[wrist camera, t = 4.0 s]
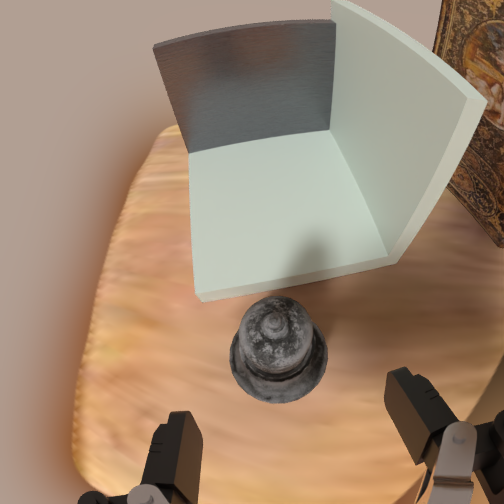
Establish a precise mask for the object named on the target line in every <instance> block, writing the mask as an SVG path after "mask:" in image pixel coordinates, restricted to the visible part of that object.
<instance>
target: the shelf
mask: <svg viewBox="0 0 504 504" xmlns="http://www.w3.org/2000/svg"><path fill="white" fill-rule="evenodd" d="M153 52H154V55H155V58H156V61H157V64H158V67H159V70H160V73H161V76H162V79H163V82H164V85H165V88H166V91H167V93H168V96H169V99H170V102H171V105H172V108H173V111H174V114H175V116H176V119H177V122H178V125H179V128H180V131H181V134H182V137H183V139H184V142H185V145H186V148H187V151H188V153H189V195H190V220H191V240H192V257H193V272H194V285H195V294H196V295H197V297H198V298H199V299H200V300H201V302H202V303H203V302H209V301H215V300H221V299H227V298H233V297H238V296H244V295H249V294H255V293H260V292H266V291H271V290H276V289H281V288H286V287H292V286H297V285H302V284H307V283H311V282H316V281H321V280H326V279H331V278H335V277H340V276H345V275H349V274H354V273H358V272H363V271H367V270H371V269H376V268H380V267H384V266H388V265H393V264H396V263H397V262H398V261H399V259H400V258H401V256H402V255H403V253H404V252H405V251H406V249H407V248H408V246H409V245H410V243H411V242H412V240H413V239H414V237H415V236H416V234H417V233H418V231H419V230H420V228H421V227H422V225H423V224H424V222H425V221H426V219H427V217H428V216H429V214H430V213H431V211H432V209H433V208H434V206H435V204H436V203H437V201H438V199H439V198H440V196H441V194H442V193H443V191H444V189H445V187H446V186H447V184H448V182H449V180H450V179H451V177H452V175H453V173H454V171H455V170H456V168H457V166H458V164H459V162H460V160H461V158H462V156H463V154H464V152H465V150H466V148H467V146H468V144H469V142H470V140H471V138H472V136H473V134H474V132H475V130H476V128H477V125H478V123H479V121H480V119H481V116H482V114H483V112H484V109H485V107H486V105H487V102H488V101H487V100H486V99H485V98H484V97H483V96H482V95H481V94H480V93H479V92H478V91H477V90H476V89H475V88H474V87H473V86H472V85H471V84H470V83H469V82H468V81H466V80H465V79H464V78H463V77H462V76H461V75H460V74H459V73H457V72H456V71H455V70H454V69H453V68H451V67H450V66H449V65H448V64H447V63H445V62H444V61H443V60H442V59H440V58H439V57H438V56H437V55H435V54H434V53H433V52H431V51H430V50H429V49H427V48H426V47H424V46H423V45H422V44H420V43H419V42H417V41H416V40H414V39H413V38H412V37H410V36H409V35H407V34H406V33H404V32H403V31H401V30H399V29H398V28H396V27H394V26H393V25H391V24H390V23H388V22H386V21H385V20H383V19H381V18H380V17H378V16H376V15H374V14H372V13H370V12H368V11H367V10H365V9H363V8H361V7H359V6H357V5H355V4H353V3H351V2H349V1H343V0H342V1H341V0H331V20H287V21H273V22H263V23H253V24H246V25H238V26H232V27H226V28H220V29H215V30H209V31H204V32H200V33H195V34H191V35H187V36H183V37H179V38H175V39H172V40H168V41H164V42H161V43H157V44H155V45H154V47H153Z"/></svg>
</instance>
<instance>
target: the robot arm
mask: <svg viewBox="0 0 504 504" xmlns="http://www.w3.org/2000/svg"><path fill="white" fill-rule="evenodd" d="M384 402H385V406H386V409H387V411H388V413H389V415H390V417H391V419H392V420H393V422H394V424H395V426H396V428H397V430H398V432H399V434H400V436H401V438H402V439H403V441H404V443H405V445H406V447H407V449H408V451H409V453H410V455H411V457H412V459H413V461H414V463H415V465H418V464H420V463H423V462H425V464H426V466H427V467H426V470H425V473H424V476H423V480H422V483H421V486H420V489H419V491H418V494H417V497H416V500H415V502H414V504H470V501H471V497H472V493H473V488H474V487H473V486H474V483H473V482H471V473H472V472H473V471H474V472H475V474H476V476H477V478H478V480H479V482H480V484H481V486H482V488H483V490H484V493H485V495H486V497H487V498H488V501H489V503H490V504H504V410H503V411H501V412H500V413H499V414H497V416H496V418H495V419H494V421H492V422H488V423H484V424H480V425H476V426H473V425H472V424H470V423H468V422H464V421H459V420H458V419H457V417H456V416H455V415H454V413H453V412H452V411H451V409H450V408H449V407H448V405H447V404H446V402H445V401H444V400H443V398H442V397H441V396H439V393H438V392H437V390H436V389H434V387H433V385H432V384H431V383H430V381H429V380H428V379H426V378H425V377H423V376H421V375H419V374H417V375H414V376H413V375H412V374H411V372H410V371H409V370H408V368H407V367H402V368H399V369H396V370H393V371H390V372H388V373H387V379H386V387H385V394H384ZM202 450H203V438H202V434H201V432H200V430H199V428H198V426H197V424H196V422H195V420H194V418H193V416H192V414H191V412H190V411H175V412H171V413H170V415H169V419H168V423H167V424H160V426H159V427H158V428H157V430H156V431H155V432H154V434H153V438H152V441H151V445H150V449H149V453H148V457H147V461H146V465H145V469H144V473H143V477H142V481H141V483H140V485H138V486H136V487H134V488H133V489H132V490H131V491H130V492H129V494H126V495H121V496H113V497H106V496H104V495H103V494H102V493H100V492H97V491H89V492H86V493H85V494H83V495H82V496H81V497H80V499H79V500H78V504H198V493H199V482H200V471H201V460H202Z"/></svg>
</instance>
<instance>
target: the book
mask: <svg viewBox="0 0 504 504" xmlns="http://www.w3.org/2000/svg"><path fill="white" fill-rule="evenodd" d="M432 52H433V53H434V54H435V55H437V56H438V57H439V58H440V59H442V60H443V61H444V62H445V63H447V64H448V65H449V66H450V67H451V68H453V69H454V70H455V71H456V72H457V73H459V74H460V75H461V76H462V77H463V78H464V79H465V80H466V81H468V82H469V83H470V84H471V85H472V86H473V87H474V88H475V89H476V90H477V91H478V92H479V93H480V94H481V95H482V96H483V97H484V98H485V99H486V100H487V101H488V102H487V105H486V107H485V109H484V112H483V114H482V116H481V119H480V121H479V123H478V125H477V128H476V130H475V132H474V134H473V136H472V138H471V140H470V142H469V144H468V146H467V148H466V150H465V152H464V154H463V156H462V158H461V160H460V162H459V164H458V166H457V168H456V170H455V171H454V173H453V175H452V177H451V179H450V180H449V182H448V184H447V186H446V187H447V188H448V189H449V190H450V191H451V192H452V193H453V195H454V196H455V197H456V198H457V199H458V200H459V201H460V202H461V203H462V204H463V205H464V206H465V207H466V209H467V210H468V211H469V212H470V213H471V214H472V215H473V217H474V218H475V219H476V220H477V221H478V222H479V224H480V225H481V226H482V227H483V228H484V230H485V231H486V232H487V233H488V235H489V236H490V237H491V238H492V240H493V241H494V242H495V243H496V245H497V246H498V247H500V248H504V0H442V4H441V10H440V16H439V21H438V27H437V32H436V37H435V41H434V46H433V50H432Z"/></svg>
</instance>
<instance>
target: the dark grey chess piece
mask: <svg viewBox="0 0 504 504" xmlns="http://www.w3.org/2000/svg"><path fill="white" fill-rule="evenodd" d="M229 361H230V366H231V370H232V374H233V376H234V377H235V379H236V381H237V383H238V385H239V386H240V387H241V388H242V389H243V390H244V391H245V392H246V393H247V394H249V395H251V396H252V397H254V398H256V399H258V400H260V401H264V402H268V403H288V402H291V401H295V400H298V399H300V398H302V397H303V396H305V395H307V394H308V393H310V392H311V391H312V390H313V389H314V388H315V387H316V386H317V385H318V384H319V382H320V380H321V378H322V376H323V375H324V373H325V369H326V365H327V361H328V351H327V345H326V342H325V338H324V336H323V334H322V333H321V331H320V329H319V328H318V326H317V325H316V324H315V323H314V322H312V321H311V318H310V316H309V314H308V313H307V311H306V310H305V308H304V307H303V306H302V305H300V304H299V303H298V302H297V301H295V300H293V299H291V298H287V297H283V296H271V297H268V298H264V299H262V300H260V301H258V302H256V303H254V304H253V305H252V306H251V307H250V308H249V309H248V310H247V312H246V313H245V315H244V316H243V318H242V321H241V324H240V327H239V330H238V331H237V333H236V334H235V336H234V338H233V341H232V344H231V347H230V360H229Z"/></svg>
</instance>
